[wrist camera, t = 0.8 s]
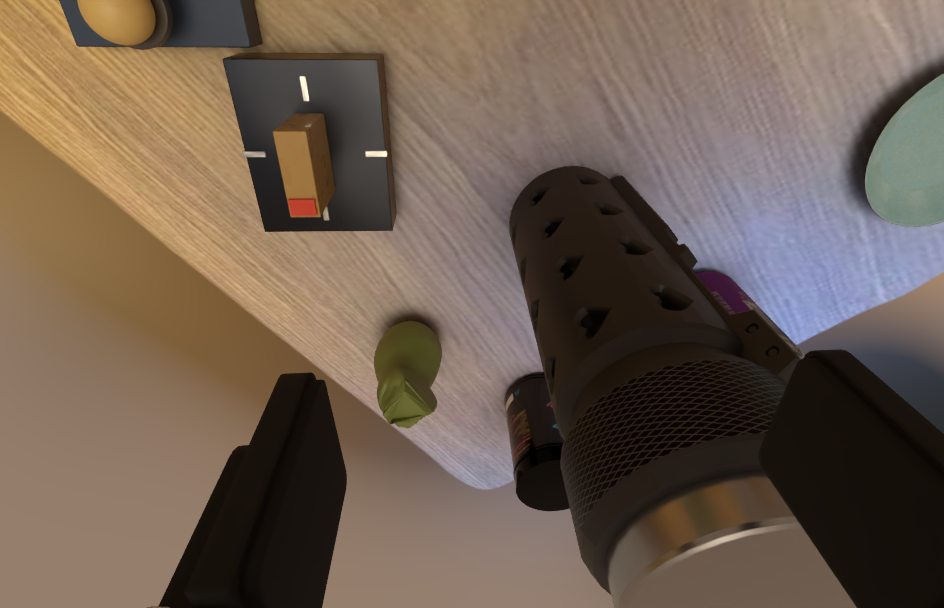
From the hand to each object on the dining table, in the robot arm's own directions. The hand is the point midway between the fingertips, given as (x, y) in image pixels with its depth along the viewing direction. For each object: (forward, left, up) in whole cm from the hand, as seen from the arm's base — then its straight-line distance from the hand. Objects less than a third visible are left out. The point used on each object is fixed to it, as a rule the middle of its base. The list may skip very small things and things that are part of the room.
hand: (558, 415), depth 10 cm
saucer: (+2, +33, -28) cm, 44 cm away
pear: (+19, -6, -28) cm, 34 cm away
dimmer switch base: (+2, -11, -28) cm, 30 cm away
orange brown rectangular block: (+2, -11, -25) cm, 27 cm away
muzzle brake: (+8, +7, -28) cm, 30 cm away
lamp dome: (-6, -19, -24) cm, 31 cm away
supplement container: (+27, +6, -28) cm, 39 cm away
